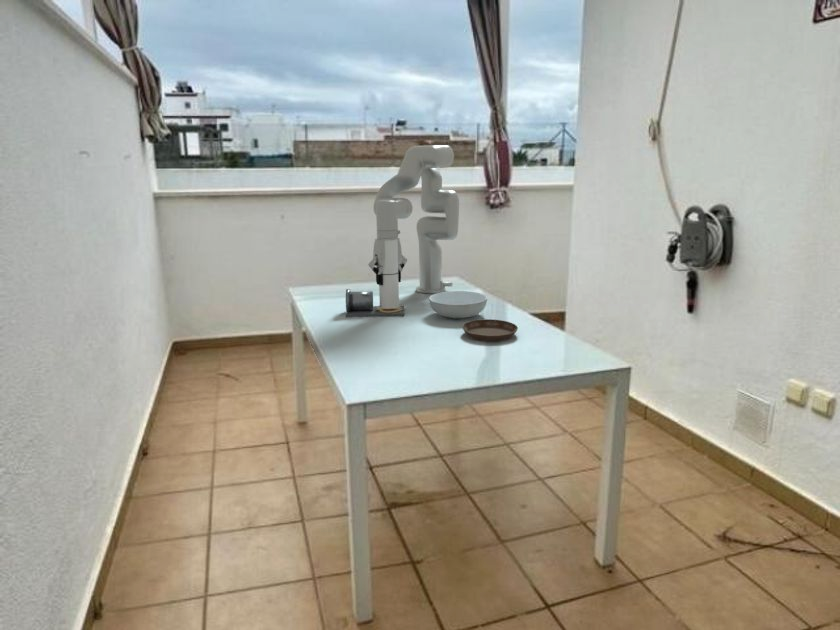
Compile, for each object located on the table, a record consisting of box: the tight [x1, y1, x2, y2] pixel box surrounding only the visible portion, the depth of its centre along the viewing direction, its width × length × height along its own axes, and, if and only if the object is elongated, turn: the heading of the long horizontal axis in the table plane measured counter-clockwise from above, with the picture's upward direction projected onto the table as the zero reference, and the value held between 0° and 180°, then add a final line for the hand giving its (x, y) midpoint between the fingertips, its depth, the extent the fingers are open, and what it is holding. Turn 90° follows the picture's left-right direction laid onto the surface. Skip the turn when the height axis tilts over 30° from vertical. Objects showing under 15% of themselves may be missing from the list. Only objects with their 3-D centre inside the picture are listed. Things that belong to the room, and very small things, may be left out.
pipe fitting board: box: [345, 288, 405, 318], centre depth 218 cm, size 21×12×9 cm, turn 92°
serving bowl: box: [428, 290, 488, 320], centre depth 213 cm, size 21×21×7 cm
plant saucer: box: [461, 318, 519, 342], centre depth 190 cm, size 18×18×3 cm
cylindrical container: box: [378, 239, 400, 309], centre depth 216 cm, size 7×7×25 cm
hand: (388, 282), depth 216 cm, fingers closed on cylindrical container, 7 cm apart
